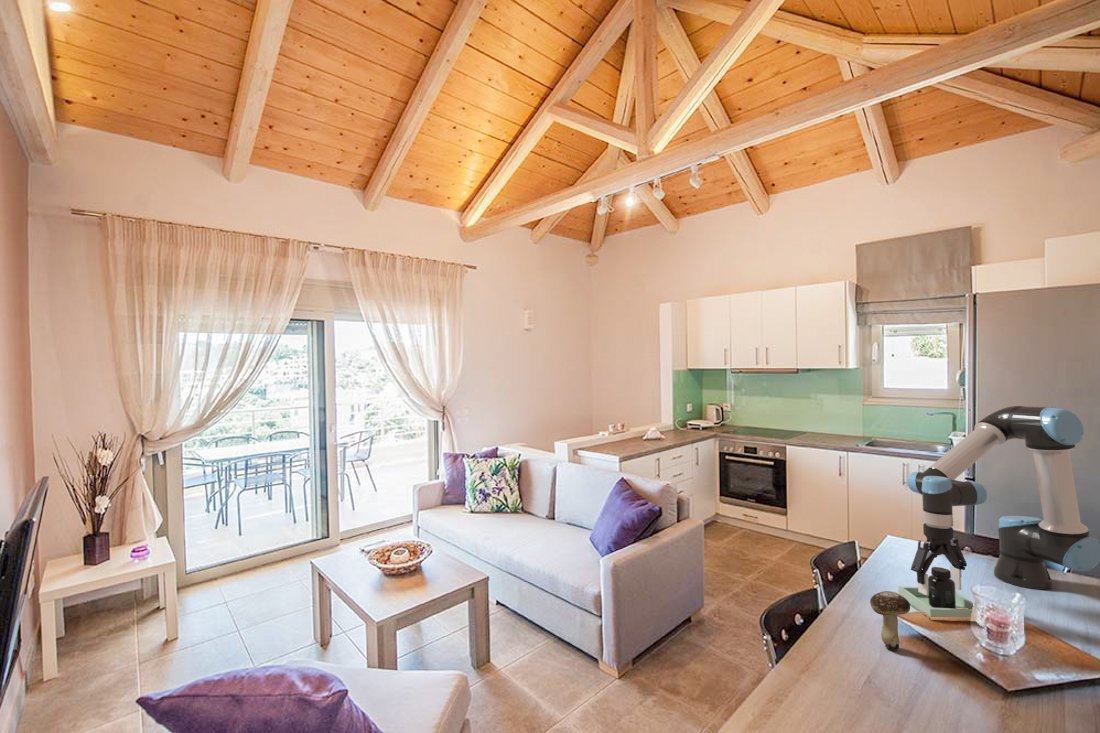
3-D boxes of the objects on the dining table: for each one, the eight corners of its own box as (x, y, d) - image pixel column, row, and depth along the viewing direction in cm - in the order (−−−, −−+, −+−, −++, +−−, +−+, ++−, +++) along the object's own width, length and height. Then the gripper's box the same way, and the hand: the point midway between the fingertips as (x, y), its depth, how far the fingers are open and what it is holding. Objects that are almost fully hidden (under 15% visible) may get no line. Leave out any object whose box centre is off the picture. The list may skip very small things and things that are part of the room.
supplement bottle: (923, 602, 158) (922, 565, 158) (944, 602, 158) (943, 565, 158) (939, 612, 151) (938, 574, 151) (961, 612, 151) (960, 574, 151)
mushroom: (905, 643, 136) (903, 589, 136) (917, 660, 128) (915, 603, 128) (866, 637, 139) (865, 585, 139) (875, 654, 131) (874, 598, 131)
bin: (949, 598, 162) (948, 588, 162) (987, 622, 146) (986, 611, 146) (898, 596, 164) (898, 586, 164) (930, 620, 148) (930, 609, 148)
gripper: (955, 518, 162) (957, 581, 162) (896, 525, 156) (898, 590, 156) (979, 525, 155) (981, 591, 154) (919, 532, 149) (921, 601, 148)
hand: (939, 591), depth 155 cm, fingers open, 13 cm apart
